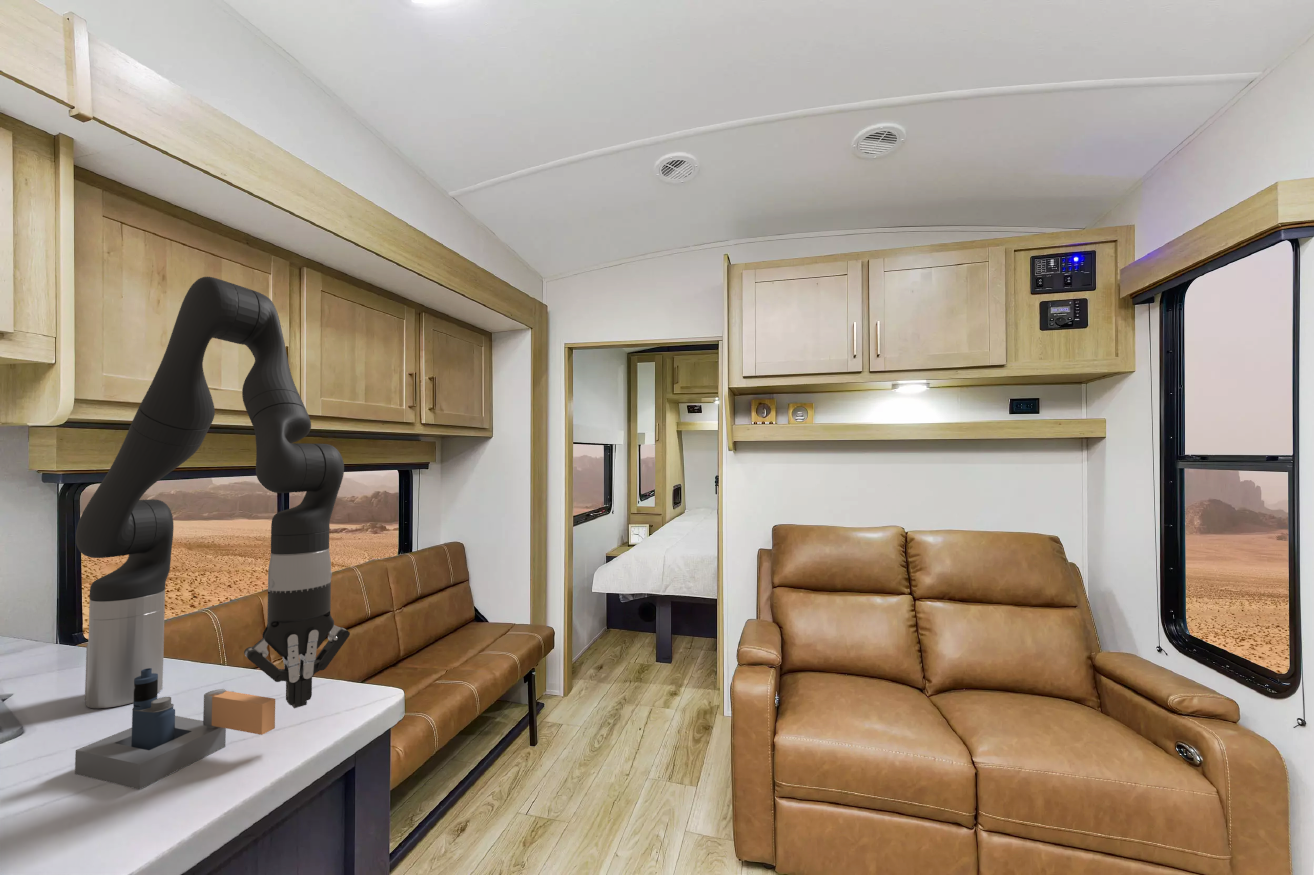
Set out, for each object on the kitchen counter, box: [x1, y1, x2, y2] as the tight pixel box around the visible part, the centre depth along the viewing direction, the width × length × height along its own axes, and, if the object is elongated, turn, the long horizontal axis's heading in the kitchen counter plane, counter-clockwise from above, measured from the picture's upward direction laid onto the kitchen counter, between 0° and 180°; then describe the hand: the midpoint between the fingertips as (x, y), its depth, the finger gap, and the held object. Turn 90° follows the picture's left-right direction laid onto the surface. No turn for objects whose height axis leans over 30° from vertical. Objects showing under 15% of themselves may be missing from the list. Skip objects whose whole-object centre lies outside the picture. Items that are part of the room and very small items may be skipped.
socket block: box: [74, 715, 227, 790], centre depth 72 cm, size 12×10×3 cm
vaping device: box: [131, 668, 176, 750], centre depth 72 cm, size 3×5×12 cm, turn 80°
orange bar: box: [202, 688, 276, 736], centre depth 74 cm, size 11×2×4 cm, turn 74°
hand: (298, 705), depth 76 cm, fingers closed
